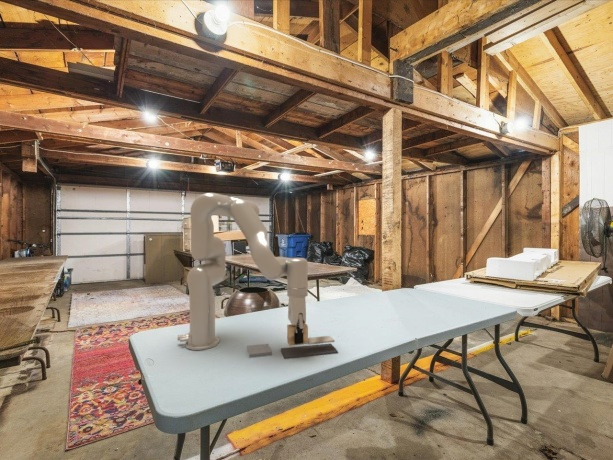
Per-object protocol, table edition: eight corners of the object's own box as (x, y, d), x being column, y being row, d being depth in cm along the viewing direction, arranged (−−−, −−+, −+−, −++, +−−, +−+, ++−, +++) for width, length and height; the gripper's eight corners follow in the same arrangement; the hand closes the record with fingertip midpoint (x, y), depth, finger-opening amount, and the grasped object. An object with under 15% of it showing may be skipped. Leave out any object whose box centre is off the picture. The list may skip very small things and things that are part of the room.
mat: (284, 358, 106) (284, 357, 106) (280, 349, 114) (280, 348, 114) (337, 353, 111) (337, 351, 111) (330, 344, 119) (330, 343, 119)
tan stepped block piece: (289, 346, 108) (289, 328, 108) (286, 341, 113) (286, 324, 113) (334, 341, 112) (334, 324, 112) (330, 337, 117) (330, 320, 117)
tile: (247, 350, 115) (249, 359, 107) (247, 345, 115) (249, 354, 107) (268, 347, 117) (271, 356, 109) (268, 343, 117) (271, 351, 109)
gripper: (283, 287, 118) (283, 334, 118) (292, 297, 102) (292, 351, 102) (301, 286, 120) (302, 332, 120) (313, 295, 104) (313, 348, 104)
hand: (297, 340), depth 111 cm, fingers closed on tan stepped block piece, 3 cm apart
